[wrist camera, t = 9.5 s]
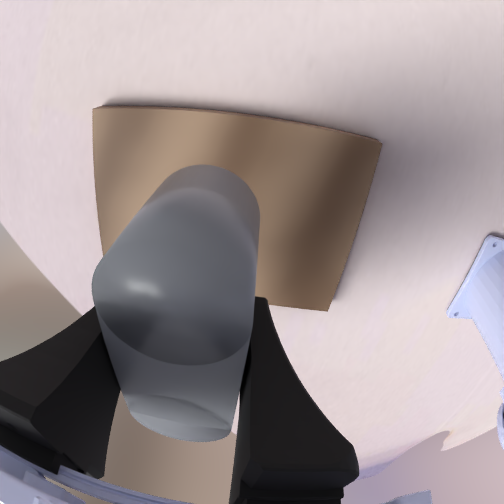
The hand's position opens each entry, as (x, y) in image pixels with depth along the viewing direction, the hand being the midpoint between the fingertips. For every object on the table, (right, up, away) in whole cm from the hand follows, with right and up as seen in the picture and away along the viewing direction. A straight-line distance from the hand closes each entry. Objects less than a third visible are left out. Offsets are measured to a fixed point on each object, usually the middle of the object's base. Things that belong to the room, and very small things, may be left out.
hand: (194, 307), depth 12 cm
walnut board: (0, +5, +7) cm, 8 cm away
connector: (0, 0, +2) cm, 2 cm away
